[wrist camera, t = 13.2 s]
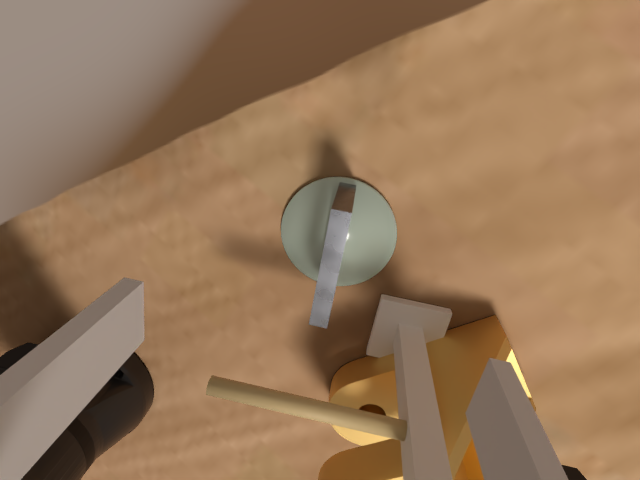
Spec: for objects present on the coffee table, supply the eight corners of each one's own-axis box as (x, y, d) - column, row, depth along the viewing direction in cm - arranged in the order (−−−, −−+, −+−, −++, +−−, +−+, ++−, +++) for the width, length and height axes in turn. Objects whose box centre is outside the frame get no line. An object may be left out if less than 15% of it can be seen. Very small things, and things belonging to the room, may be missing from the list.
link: (321, 278, 39) (308, 324, 31) (340, 182, 35) (331, 208, 27) (335, 281, 38) (326, 328, 31) (356, 185, 35) (352, 213, 27)
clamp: (352, 429, 46) (342, 592, 32) (316, 372, 44) (288, 521, 29) (523, 383, 41) (608, 555, 26) (495, 315, 38) (572, 463, 23)
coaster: (275, 270, 39) (274, 273, 39) (290, 165, 35) (289, 166, 35) (381, 293, 39) (381, 296, 38) (410, 189, 35) (410, 191, 34)
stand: (254, 323, 42) (177, 478, 26) (261, 267, 40) (180, 401, 23) (430, 363, 41) (468, 551, 25) (450, 308, 38) (508, 479, 22)
